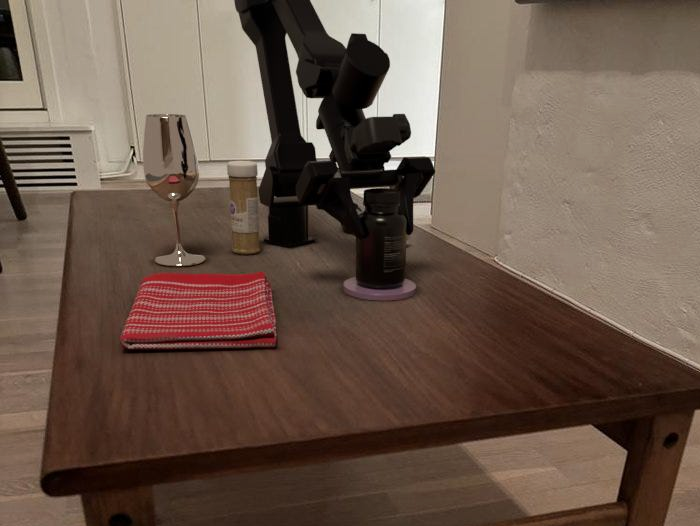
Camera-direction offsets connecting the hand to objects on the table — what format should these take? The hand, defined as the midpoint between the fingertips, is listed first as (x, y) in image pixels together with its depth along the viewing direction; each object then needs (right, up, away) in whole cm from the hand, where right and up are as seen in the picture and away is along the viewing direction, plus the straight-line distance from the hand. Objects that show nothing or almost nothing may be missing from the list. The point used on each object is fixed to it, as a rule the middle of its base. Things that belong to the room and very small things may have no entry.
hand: (386, 235), depth 97 cm
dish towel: (-22, -13, -7) cm, 27 cm away
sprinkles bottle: (-22, +4, +22) cm, 31 cm away
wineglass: (-31, +1, +16) cm, 35 cm away
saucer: (-1, -6, +5) cm, 8 cm away
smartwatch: (-5, +13, +37) cm, 40 cm away
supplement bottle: (-1, -5, +5) cm, 7 cm away
